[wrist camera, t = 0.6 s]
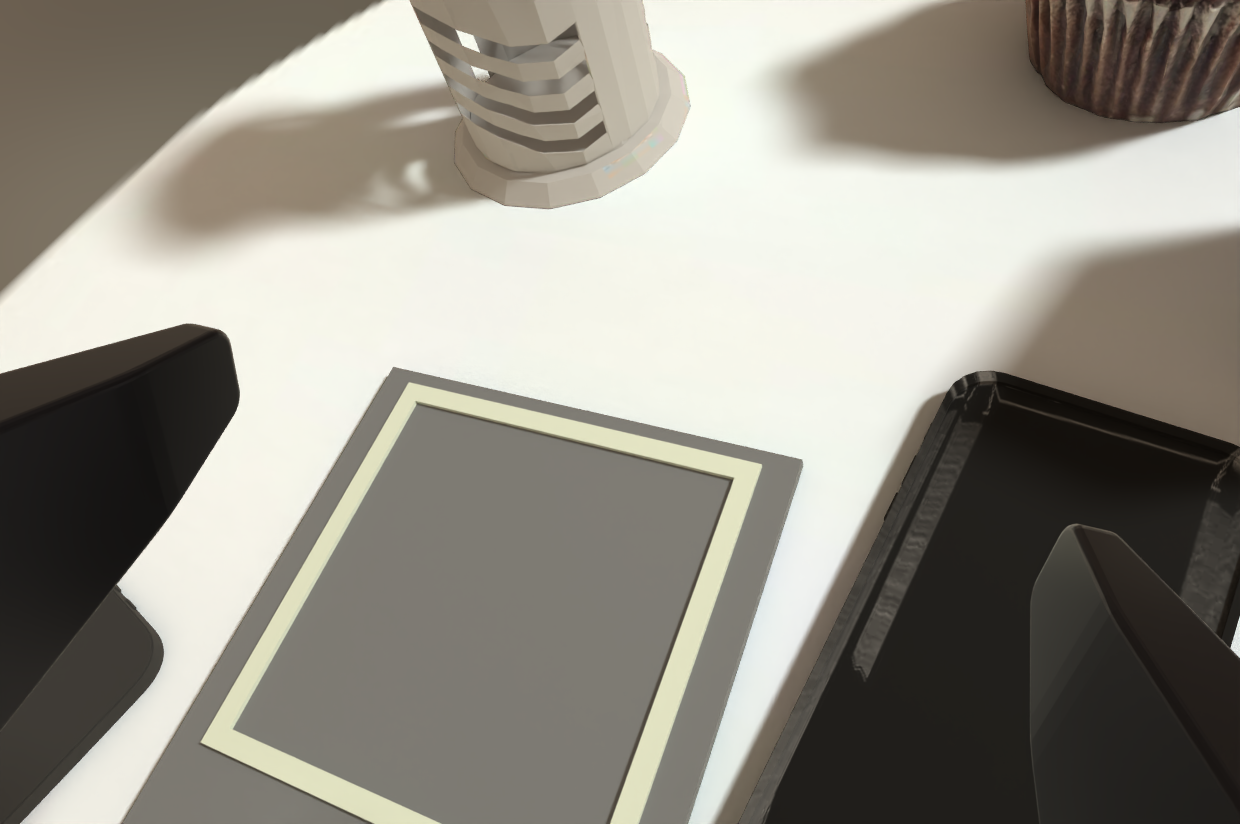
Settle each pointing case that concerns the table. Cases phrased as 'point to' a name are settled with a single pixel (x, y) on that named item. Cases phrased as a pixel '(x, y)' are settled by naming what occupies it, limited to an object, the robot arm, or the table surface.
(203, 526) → the table surface
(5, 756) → the phone
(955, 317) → the table surface
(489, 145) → the french press
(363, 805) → the mat
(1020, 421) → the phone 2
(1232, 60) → the cupcake
